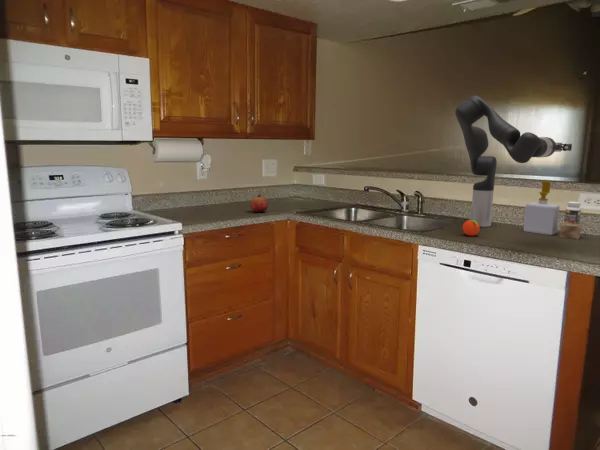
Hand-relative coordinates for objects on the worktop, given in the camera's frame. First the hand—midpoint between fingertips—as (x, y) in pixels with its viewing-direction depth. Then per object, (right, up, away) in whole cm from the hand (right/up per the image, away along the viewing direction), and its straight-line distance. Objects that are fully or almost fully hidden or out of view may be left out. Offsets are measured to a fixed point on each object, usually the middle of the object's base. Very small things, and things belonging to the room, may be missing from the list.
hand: (555, 146), depth 178 cm
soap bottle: (+6, -35, +22) cm, 42 cm away
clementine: (-28, -36, +15) cm, 48 cm away
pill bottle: (+14, -32, +12) cm, 36 cm away
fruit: (-125, -24, +79) cm, 150 cm away
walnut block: (+14, -36, +13) cm, 41 cm away
